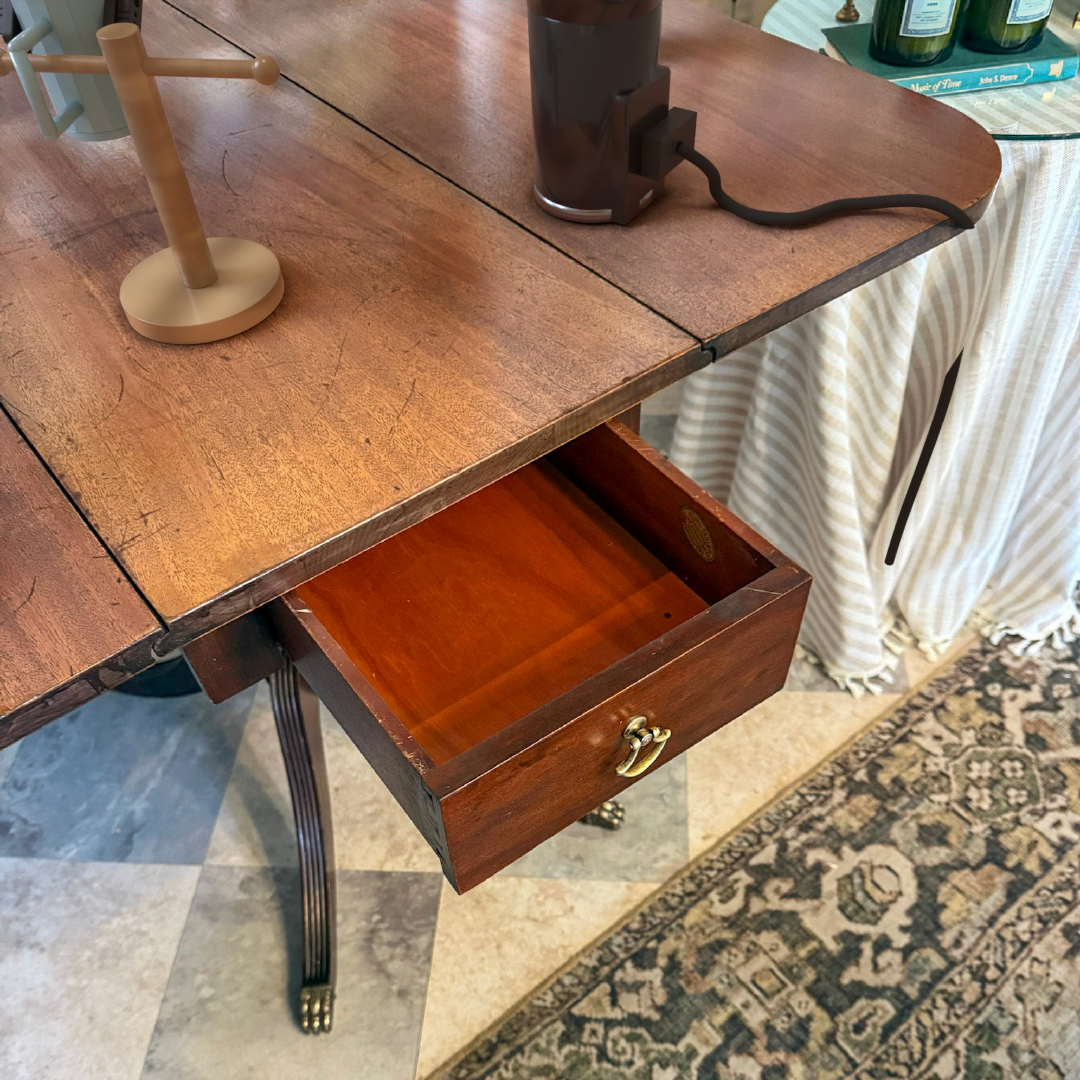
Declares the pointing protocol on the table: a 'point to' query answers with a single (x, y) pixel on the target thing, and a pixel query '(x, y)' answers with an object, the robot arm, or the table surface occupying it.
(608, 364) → the table surface
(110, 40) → the mug tree
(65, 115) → the mug
